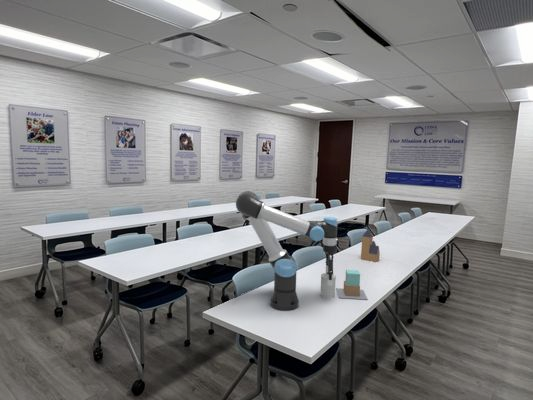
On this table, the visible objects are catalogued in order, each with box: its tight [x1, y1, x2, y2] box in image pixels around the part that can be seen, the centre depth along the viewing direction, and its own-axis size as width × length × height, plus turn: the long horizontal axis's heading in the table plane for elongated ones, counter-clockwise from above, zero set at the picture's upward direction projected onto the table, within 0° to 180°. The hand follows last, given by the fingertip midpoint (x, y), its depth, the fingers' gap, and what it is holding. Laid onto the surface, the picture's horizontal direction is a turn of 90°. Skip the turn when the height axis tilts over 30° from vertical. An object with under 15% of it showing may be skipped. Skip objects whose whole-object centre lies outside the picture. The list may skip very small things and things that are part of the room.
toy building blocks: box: [360, 228, 381, 263], centre depth 272 cm, size 12×19×25 cm, turn 142°
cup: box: [319, 272, 337, 300], centre depth 195 cm, size 8×8×12 cm
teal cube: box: [344, 269, 361, 287], centre depth 197 cm, size 7×7×7 cm
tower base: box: [335, 280, 369, 301], centre depth 198 cm, size 16×14×7 cm
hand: (328, 280), depth 194 cm, fingers open, 13 cm apart
